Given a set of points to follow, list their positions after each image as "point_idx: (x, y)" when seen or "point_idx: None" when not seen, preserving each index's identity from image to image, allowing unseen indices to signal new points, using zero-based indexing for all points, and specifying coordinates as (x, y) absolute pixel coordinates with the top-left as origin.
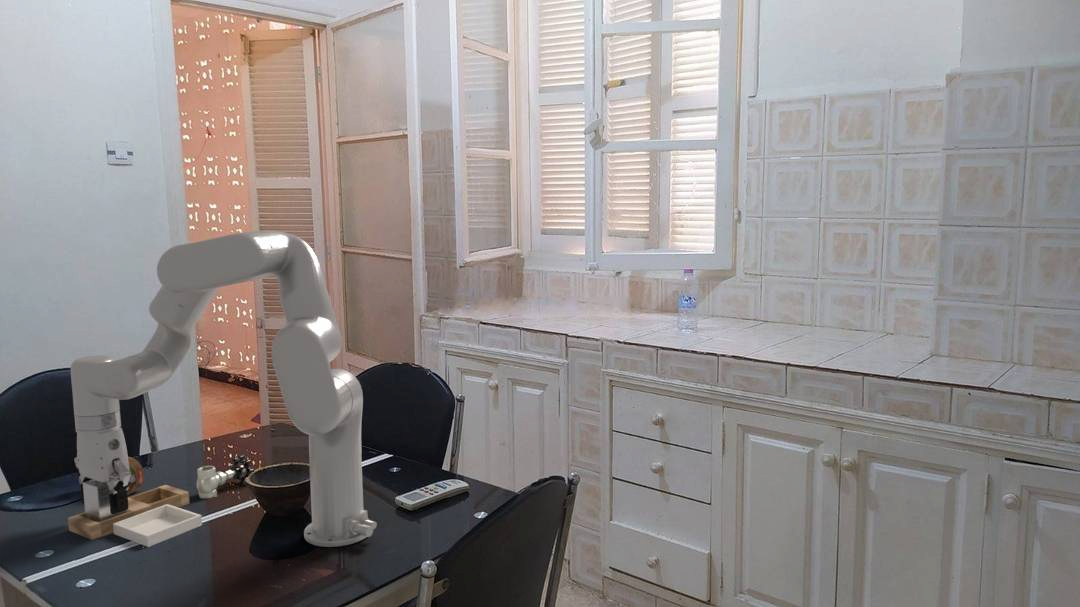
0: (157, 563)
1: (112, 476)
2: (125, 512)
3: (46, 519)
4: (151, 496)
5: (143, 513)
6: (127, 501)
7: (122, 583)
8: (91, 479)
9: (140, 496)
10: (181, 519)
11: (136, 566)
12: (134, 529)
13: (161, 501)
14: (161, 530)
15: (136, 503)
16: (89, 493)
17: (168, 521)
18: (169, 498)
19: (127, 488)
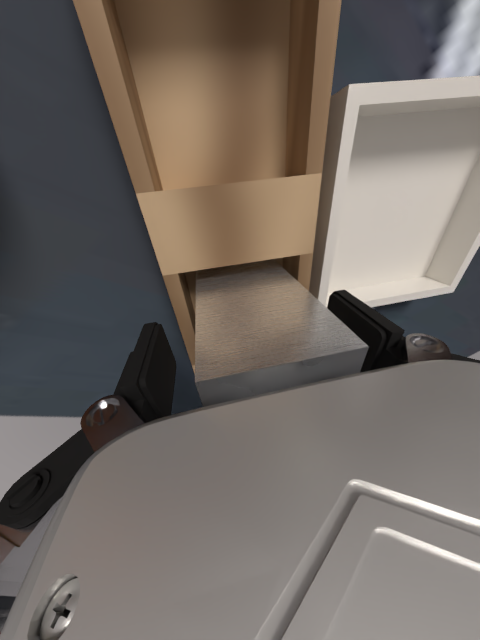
0: (472, 292)
1: (257, 374)
2: (284, 270)
3: (58, 369)
4: (116, 28)
5: (336, 227)
6: (359, 302)
7: (449, 345)
8: (147, 421)
9: (137, 119)
10: (420, 110)
11: (440, 317)
12: (396, 296)
13: (329, 100)
14: (472, 254)
15: (249, 206)
16: None
17: (381, 157)
18: (337, 24)
19: (434, 342)
